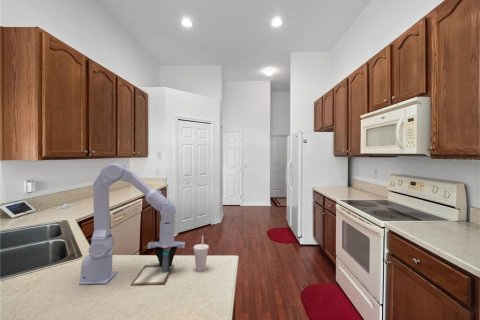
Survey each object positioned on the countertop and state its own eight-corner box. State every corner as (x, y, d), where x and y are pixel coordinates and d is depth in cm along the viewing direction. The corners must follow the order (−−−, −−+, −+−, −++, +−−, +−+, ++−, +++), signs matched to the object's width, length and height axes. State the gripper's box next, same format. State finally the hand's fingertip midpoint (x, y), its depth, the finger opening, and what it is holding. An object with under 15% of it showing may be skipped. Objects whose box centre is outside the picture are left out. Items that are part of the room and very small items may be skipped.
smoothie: (204, 274, 89) (206, 239, 90) (190, 272, 90) (191, 237, 91) (210, 267, 95) (211, 234, 96) (196, 265, 97) (197, 233, 97)
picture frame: (130, 285, 79) (130, 282, 79) (145, 266, 95) (145, 263, 95) (164, 284, 80) (164, 281, 80) (173, 265, 96) (173, 262, 96)
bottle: (160, 272, 88) (161, 252, 88) (162, 268, 92) (163, 249, 92) (168, 272, 88) (169, 252, 89) (170, 268, 92) (171, 249, 92)
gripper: (145, 235, 86) (144, 270, 85) (183, 234, 87) (182, 269, 87) (151, 230, 93) (149, 262, 92) (186, 229, 94) (184, 262, 94)
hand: (165, 265), depth 90 cm, fingers closed on bottle, 3 cm apart
